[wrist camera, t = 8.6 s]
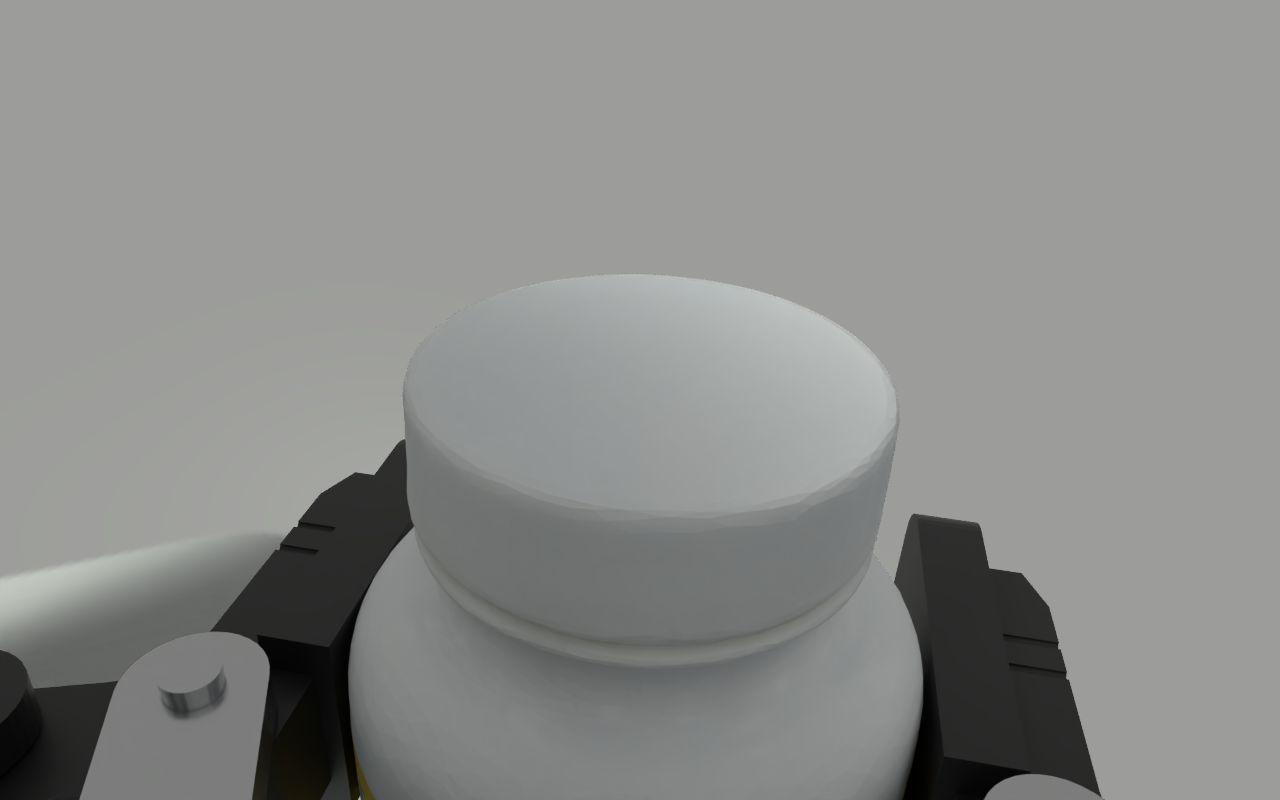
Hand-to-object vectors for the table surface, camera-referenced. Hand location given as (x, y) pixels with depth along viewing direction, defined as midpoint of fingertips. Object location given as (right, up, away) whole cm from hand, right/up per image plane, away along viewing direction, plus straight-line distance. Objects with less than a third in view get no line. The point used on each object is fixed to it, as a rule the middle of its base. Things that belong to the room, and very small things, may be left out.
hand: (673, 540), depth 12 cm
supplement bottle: (-1, -7, +1) cm, 7 cm away
